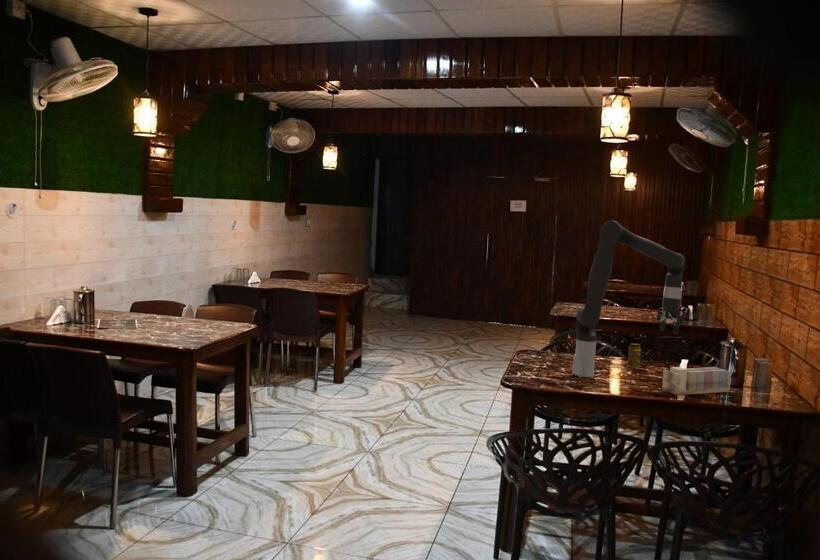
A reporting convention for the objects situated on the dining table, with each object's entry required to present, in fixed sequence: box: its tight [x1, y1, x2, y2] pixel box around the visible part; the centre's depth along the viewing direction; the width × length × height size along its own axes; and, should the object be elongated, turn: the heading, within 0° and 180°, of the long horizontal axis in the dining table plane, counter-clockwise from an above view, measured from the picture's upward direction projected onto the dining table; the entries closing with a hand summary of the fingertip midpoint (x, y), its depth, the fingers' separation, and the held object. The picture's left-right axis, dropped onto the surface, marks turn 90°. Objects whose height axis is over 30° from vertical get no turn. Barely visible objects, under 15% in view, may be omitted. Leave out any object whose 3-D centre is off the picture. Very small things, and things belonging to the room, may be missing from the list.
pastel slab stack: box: [661, 366, 732, 396], centre depth 292 cm, size 9×30×10 cm, turn 111°
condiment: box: [627, 342, 642, 367], centre depth 340 cm, size 7×8×12 cm
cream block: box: [669, 366, 687, 390], centre depth 288 cm, size 4×6×9 cm
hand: (668, 332), depth 296 cm, fingers open, 8 cm apart
